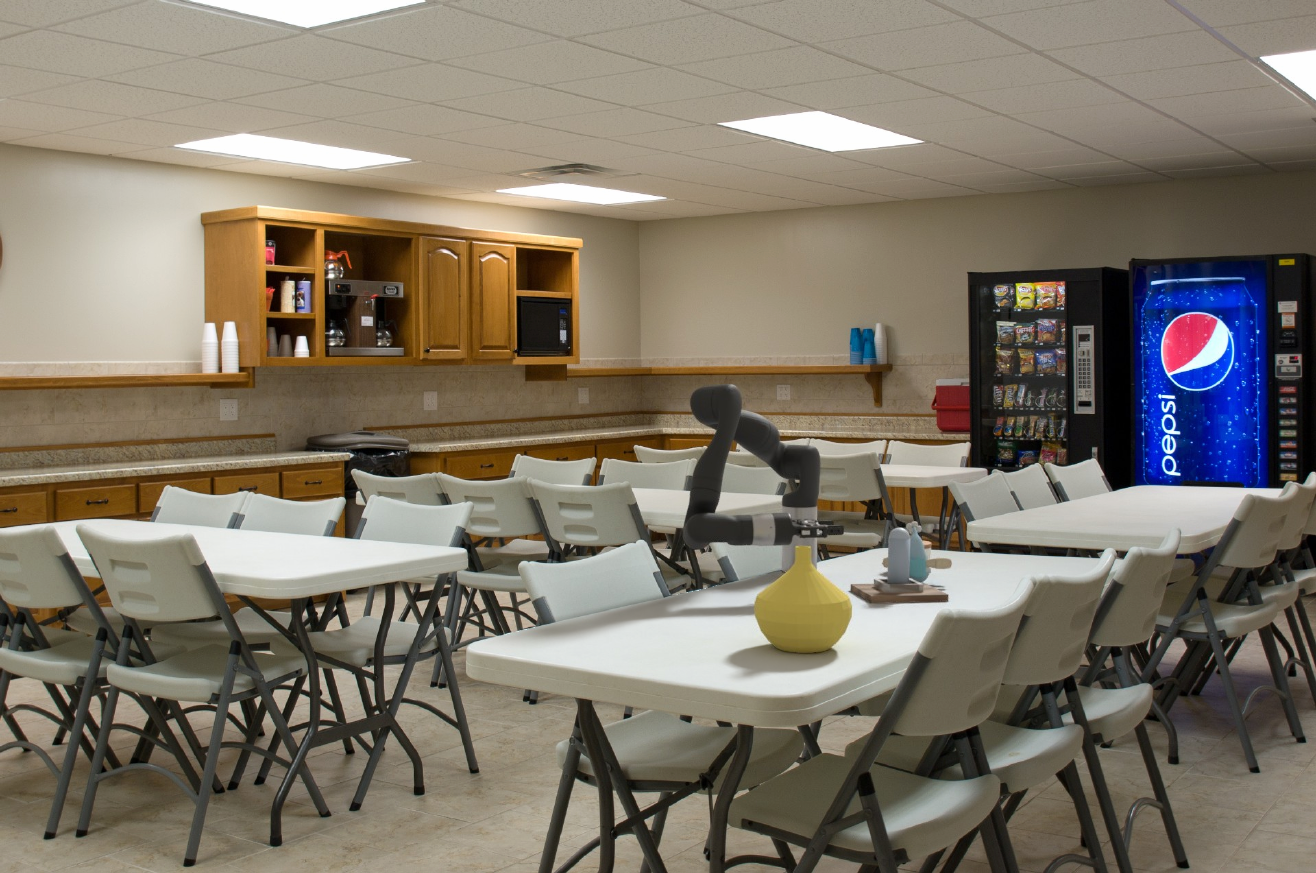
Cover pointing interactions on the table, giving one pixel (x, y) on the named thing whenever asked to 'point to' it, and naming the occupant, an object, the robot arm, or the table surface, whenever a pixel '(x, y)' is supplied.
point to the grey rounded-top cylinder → (898, 557)
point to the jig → (898, 592)
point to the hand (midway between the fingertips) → (838, 527)
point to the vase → (803, 608)
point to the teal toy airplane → (920, 557)
